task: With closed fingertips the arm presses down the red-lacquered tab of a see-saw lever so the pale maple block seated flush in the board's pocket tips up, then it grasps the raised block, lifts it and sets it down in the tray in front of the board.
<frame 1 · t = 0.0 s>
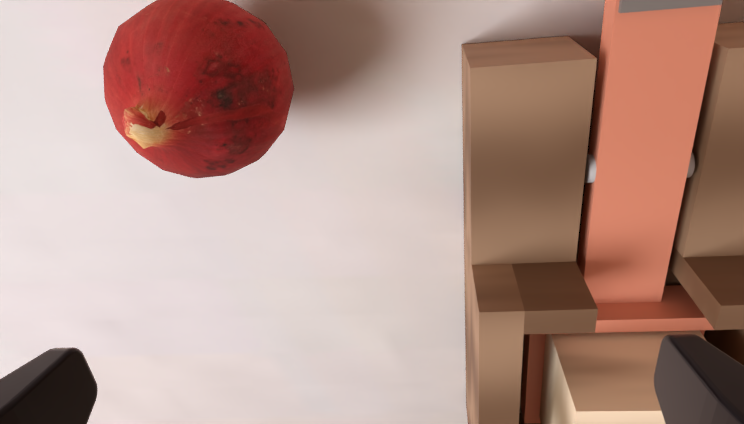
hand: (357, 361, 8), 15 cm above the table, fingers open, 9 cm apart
onion: (237, 61, 21), on the table
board: (609, 135, 21), on the table
block: (609, 370, 23), point 3 cm above the table, touching lever
lever: (632, 231, 19), point 3 cm above the table, hinge at 0.0°, touching block
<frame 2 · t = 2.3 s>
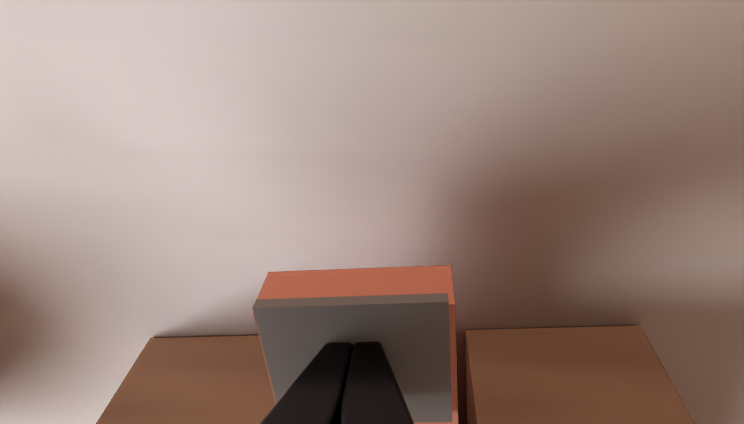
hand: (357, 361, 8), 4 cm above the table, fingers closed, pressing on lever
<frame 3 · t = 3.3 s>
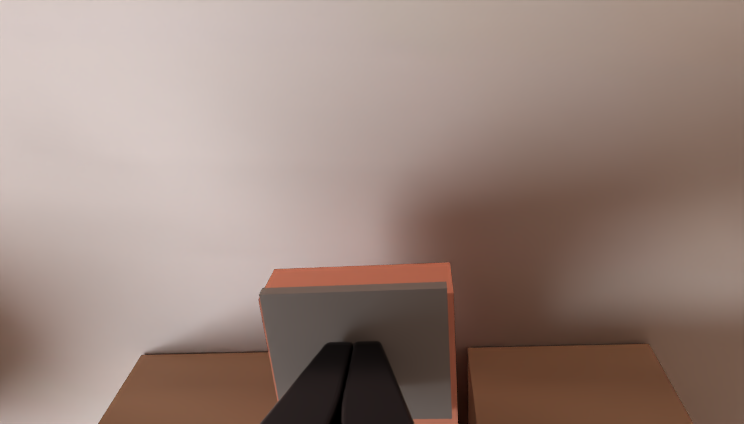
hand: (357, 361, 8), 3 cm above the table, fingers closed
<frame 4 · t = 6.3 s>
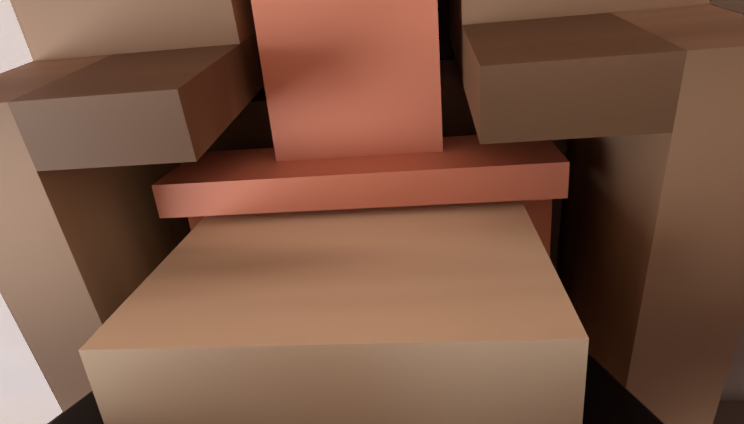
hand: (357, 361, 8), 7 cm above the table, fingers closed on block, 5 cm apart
block: (374, 322, 11), point 5 cm above the table, tilted 6°, touching gripper, lever
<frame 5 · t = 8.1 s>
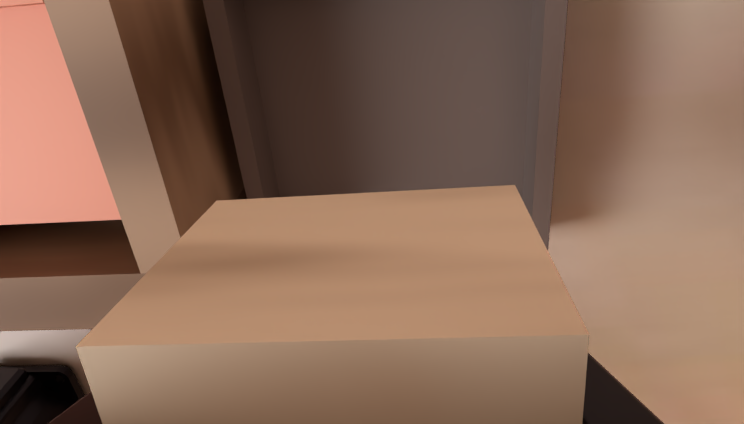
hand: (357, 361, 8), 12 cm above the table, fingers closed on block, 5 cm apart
tray: (394, 111, 19), on the table
block: (373, 320, 11), point 10 cm above the table, tilted 6°, touching gripper
when the fingers open (4 cm above the table, at t = 10.1 s): block stays where it is, resting on tray.
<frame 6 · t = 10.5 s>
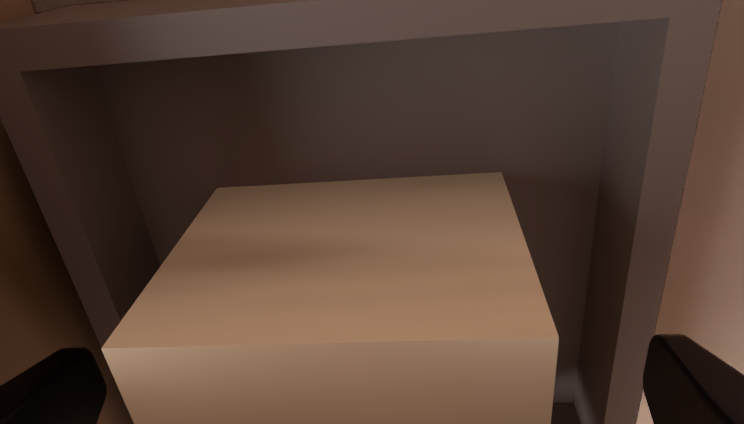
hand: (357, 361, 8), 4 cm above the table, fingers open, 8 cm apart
tray: (369, 231, 12), on the table
block: (369, 295, 12), point 1 cm above the table, touching tray
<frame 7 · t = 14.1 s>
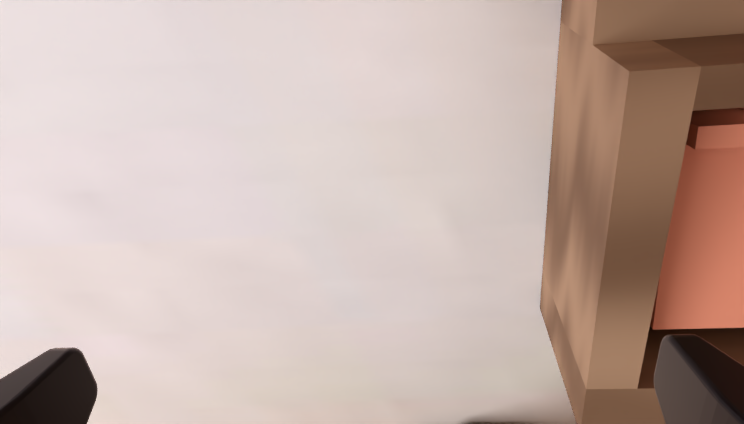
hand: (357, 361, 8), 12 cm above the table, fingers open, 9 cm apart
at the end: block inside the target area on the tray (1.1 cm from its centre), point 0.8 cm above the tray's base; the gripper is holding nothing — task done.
